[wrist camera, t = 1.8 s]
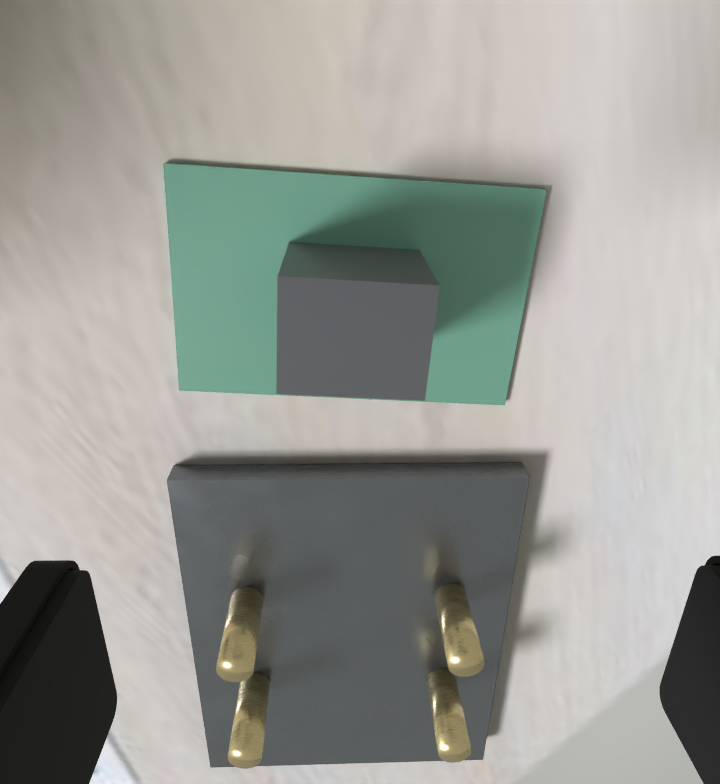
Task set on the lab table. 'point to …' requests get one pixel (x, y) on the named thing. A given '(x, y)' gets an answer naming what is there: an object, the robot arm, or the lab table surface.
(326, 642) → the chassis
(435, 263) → the circuit board
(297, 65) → the lab table surface
